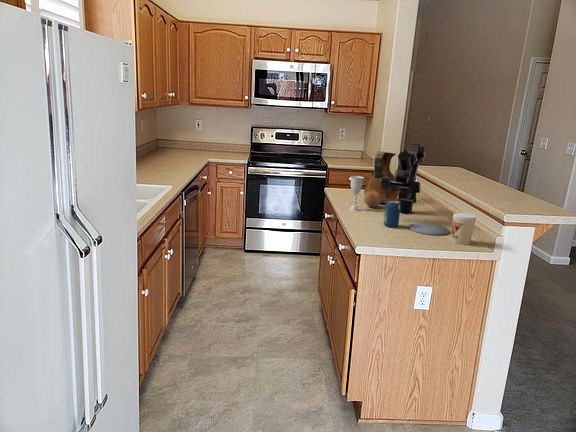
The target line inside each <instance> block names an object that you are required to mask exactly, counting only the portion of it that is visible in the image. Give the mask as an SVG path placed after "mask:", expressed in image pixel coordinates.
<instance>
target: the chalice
mask: <svg viewBox="0 0 576 432" xmlns="http://www.w3.org/2000/svg"><path fill="white" fill-rule="evenodd" d="M364 178H365V177H364V176H360V175H359V176H358V175H351V176H350V188H351V191H352V194H354V197H353V205H351V207H350V208H349V211H351V212H359V211H360V209H359V207H358V205H357V204H356V203H357V199H358V198H357V195H359V194H360V192H361V190H362V188H363V183H364V181H363V180H364Z"/></svg>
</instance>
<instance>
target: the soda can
mask: <svg viewBox="0 0 576 432" xmlns="http://www.w3.org/2000/svg"><path fill="white" fill-rule="evenodd" d="M384 207H385V208H384V216H383V225H384V227H386V228H389V229H395V228H397V227H398V226H399V223H400V207H401V206H400V201H398V200H395V201H392V200H390V201H387V203H385V206H384Z"/></svg>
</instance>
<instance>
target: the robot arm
mask: <svg viewBox="0 0 576 432" xmlns="http://www.w3.org/2000/svg"><path fill="white" fill-rule="evenodd" d="M426 153H427V152H426V148H425V147H424V146H422V144H421V143H417V142H412V143H411V144H410V147H409V148H408V149H406V150H405V149H404V150H403V151H402V152H400V153H398V154H397V160H398V166H399V169H395V173H394V176H395V180H396V181H395V182H394V181H390V178H382V179H381V185H382V188H384V190H386V195H387V198H388V196H389V192H390V186H398V188H400V189H399V193H398V198H397V201H398V202H400V206H401V207H400V213H401V214H404V215H410V214H414V213H415V212H414V211H413V205H414V204H415V203H417V194H420V192H421V186H422V185H421V182H420V181H416V177H417V173H418V169H419V166H420V165H421V164H422V163H423V162H424V159H425V158H426V155H427V154H426Z"/></svg>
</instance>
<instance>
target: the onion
mask: <svg viewBox="0 0 576 432" xmlns="http://www.w3.org/2000/svg"><path fill="white" fill-rule="evenodd" d="M363 200H364V203H365V204H366V205H367V206H368V207H370V208H375V207H377V206H379V205H380V204H381V203H382V202H381V196H380V195H379V194H378V193H377V192H376V191H374V190H372V191H369V192H367V193H366V194H365V195H364V197H363Z"/></svg>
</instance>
